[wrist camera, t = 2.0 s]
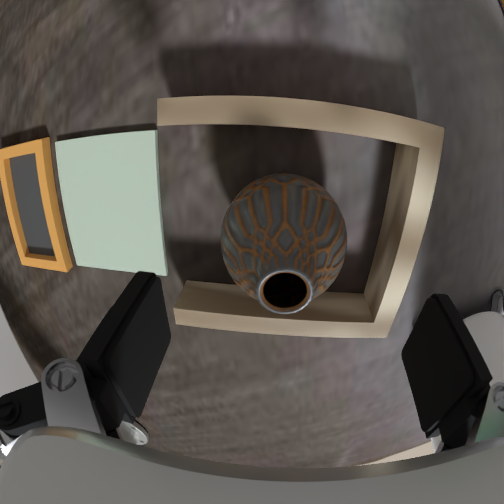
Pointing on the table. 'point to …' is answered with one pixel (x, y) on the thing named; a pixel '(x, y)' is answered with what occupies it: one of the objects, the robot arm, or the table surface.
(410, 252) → the open-sided enclosure
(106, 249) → the pad
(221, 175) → the table surface
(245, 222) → the vase
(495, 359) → the coffee press
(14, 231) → the orange picture frame
